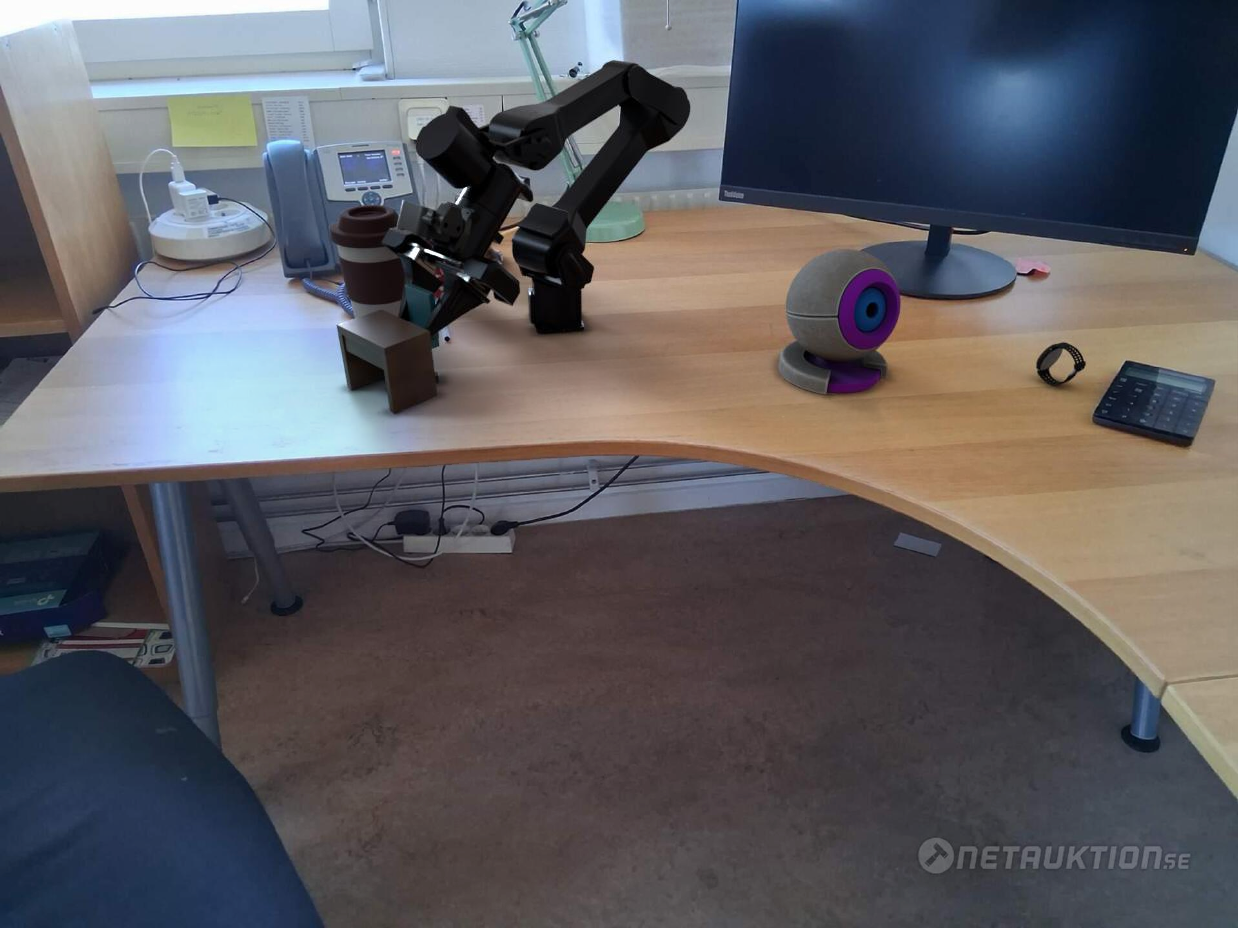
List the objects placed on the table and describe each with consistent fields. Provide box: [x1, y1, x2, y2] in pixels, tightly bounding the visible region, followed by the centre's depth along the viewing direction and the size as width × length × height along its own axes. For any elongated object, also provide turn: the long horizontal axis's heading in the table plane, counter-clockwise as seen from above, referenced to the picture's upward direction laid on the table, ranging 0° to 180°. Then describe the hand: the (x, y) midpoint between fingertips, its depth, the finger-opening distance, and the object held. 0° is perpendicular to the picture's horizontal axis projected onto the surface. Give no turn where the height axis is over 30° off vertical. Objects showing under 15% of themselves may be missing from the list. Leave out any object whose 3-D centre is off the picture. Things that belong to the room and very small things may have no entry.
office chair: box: [405, 283, 440, 383], centre depth 98 cm, size 5×6×11 cm
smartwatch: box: [1035, 341, 1087, 387], centre depth 101 cm, size 4×5×5 cm
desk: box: [336, 310, 438, 415], centre depth 96 cm, size 6×9×8 cm, turn 48°
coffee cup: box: [328, 204, 410, 322], centre depth 111 cm, size 10×10×15 cm
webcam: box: [777, 248, 902, 395], centre depth 101 cm, size 13×13×15 cm
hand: (413, 328), depth 98 cm, fingers closed on office chair, 4 cm apart
